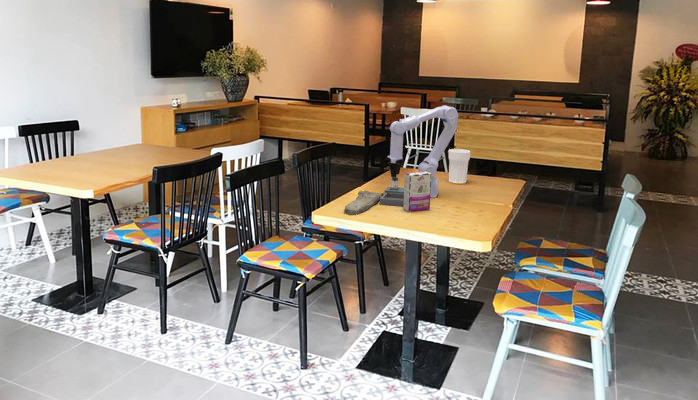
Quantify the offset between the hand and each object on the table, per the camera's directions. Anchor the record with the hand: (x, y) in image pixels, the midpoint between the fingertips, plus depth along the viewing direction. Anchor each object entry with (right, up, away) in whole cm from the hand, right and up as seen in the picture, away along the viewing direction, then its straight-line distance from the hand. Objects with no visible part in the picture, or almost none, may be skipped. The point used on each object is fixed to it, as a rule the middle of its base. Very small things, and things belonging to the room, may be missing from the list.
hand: (395, 175), depth 283 cm
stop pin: (0, -10, +2) cm, 10 cm away
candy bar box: (+8, -16, -22) cm, 28 cm away
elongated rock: (-16, -15, -17) cm, 28 cm away
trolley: (+2, -10, +2) cm, 10 cm away
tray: (0, -13, -10) cm, 16 cm away
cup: (+36, -2, +36) cm, 51 cm away
